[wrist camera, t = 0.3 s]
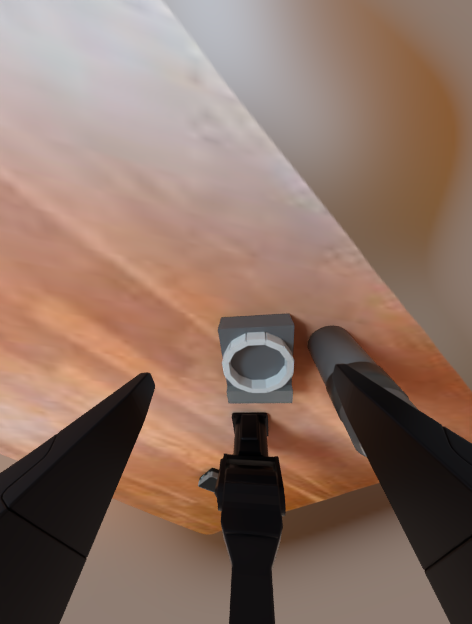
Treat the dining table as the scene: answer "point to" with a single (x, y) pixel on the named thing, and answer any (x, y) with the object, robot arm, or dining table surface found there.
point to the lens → (344, 349)
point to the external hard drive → (209, 480)
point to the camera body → (258, 358)
